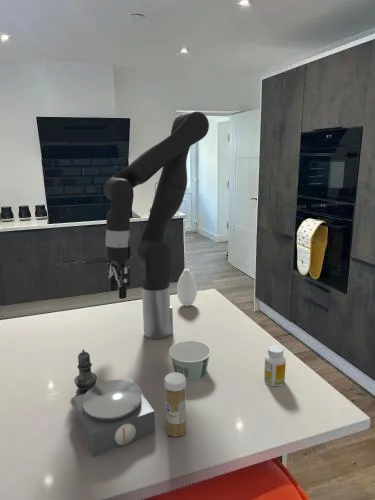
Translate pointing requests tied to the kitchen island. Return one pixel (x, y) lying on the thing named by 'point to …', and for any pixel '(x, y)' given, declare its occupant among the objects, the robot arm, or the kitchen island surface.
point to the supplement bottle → (275, 366)
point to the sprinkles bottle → (175, 404)
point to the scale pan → (112, 400)
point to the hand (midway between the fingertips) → (117, 294)
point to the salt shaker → (84, 374)
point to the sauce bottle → (186, 288)
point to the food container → (190, 358)
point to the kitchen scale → (115, 427)
